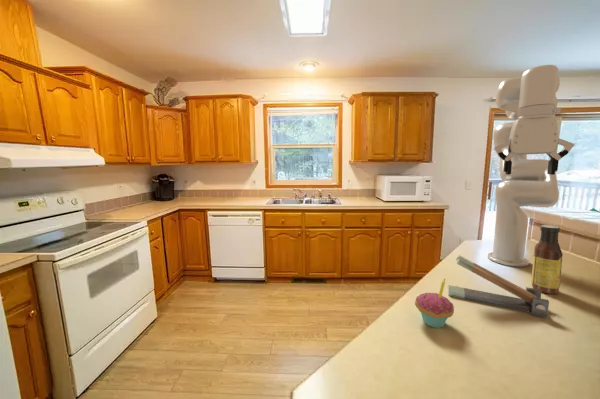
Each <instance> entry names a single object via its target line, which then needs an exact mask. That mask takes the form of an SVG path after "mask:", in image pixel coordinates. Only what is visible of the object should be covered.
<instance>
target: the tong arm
mask: <svg viewBox="0 0 600 399" xmlns="http://www.w3.org/2000/svg"><path fill="white" fill-rule="evenodd" d="M455 261H456V264H457V265H459V266H460V267H462V268H464V269H466V270H468V271H470V272H471V273H474V274H475V275H477V276H479V277H480V278H482V279H484V280H486V281H488V282H490V283H492V284H494V285H496V286H498V287H499V288H501V289H503V290H505V291H506V292H509V293H510V294H512V295H515V296H516V297H517V298H520V299H523V300H525V301H527V302H529V303H530V304H531V303H532V297H535V298H537V297H536V295H534V294H532V293H530V292H528V291H527V290H526V288H525V289H524V288H523V287H521V286H520V285H517V284H515V283H513V282H511V281H509V280H507V279H506V278H504V277H501V276H500V275H498V274H496V273H494V272H492V271H491V270H488V269H486V268H485V267H482V266H480V265H479V264H477V263H476V262H473V261H471V260H470V259H467V258H465V256H462V255H460V254H458V256H457V257H456V259H455Z"/></svg>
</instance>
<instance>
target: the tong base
mask: <svg viewBox="0 0 600 399" xmlns="http://www.w3.org/2000/svg"><path fill="white" fill-rule="evenodd" d="M447 288H448V293H447V294H448V297H455V298H458V299H463V300H468V301H473V302H479V303H483V304H488V305H493V306H498V307H501V308H502V307H503V308H506V309H507V308H508V309H512V310H517V311H522V312H526V313H530V315H531V316H534V317H540V318H544V319H548V313H549V305H550V301H549V300H548V299H546V298H545V299H544V298H542V293H543V292H542V291H541V290H539V289H534V288H533V287H528V286H526V287H525V290H527V291H528V292H530V293H532V294H534V295H536V297H537V298H535V297H532V303H531V304H530V303H529V302H527V301H525V300H523V299H521V298H519V297H513V296H509V295H505V294H498V293H492V292H488V291H487V292H486V291H483V290H482V291H481V290H476V289H471V288H466V287H461V286H454V285H450V284H449V285H448V287H447Z"/></svg>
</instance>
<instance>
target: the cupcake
mask: <svg viewBox="0 0 600 399" xmlns="http://www.w3.org/2000/svg"><path fill="white" fill-rule="evenodd" d="M445 285H446V278H444V279H443V280H442V281H441V284H440V287H439V288H440V289H439V292H438V293H437V292H425V293H420V294H419V295H418V296H416V298H415V301H414V306H415V307H416V308H417V310H418V311H419V312H420V314H421V318H422V321H423V322H424V324H426V325H427V326H430V327H432V328H438V329H439V328H443V327H444V325H445V324H446V322H447V320H448V318H451V317H453V316H454V313H455V311H454V310H455V307H454V304H453V302H451V301H450V299H449V298H447V297H446V296H444V295H443V292H444V289H445Z"/></svg>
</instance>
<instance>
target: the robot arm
mask: <svg viewBox="0 0 600 399" xmlns="http://www.w3.org/2000/svg"><path fill="white" fill-rule="evenodd" d="M558 75H559V68H558V67H557V65H553V64H544V65H538V66H534V67H531V68H529V69H527V70H525V71H524V72H523V73H522V75H521V76H518V77H517V76H516V77H512V78H511V77H509V78H507V79H504V80H503V81H501V82H500V84H499V85H498V88H497V91H496V94H495V103H496V104H495V105H496V107H497V108H498V109H499V110H503V111H505V112H504V113H505V115H506V116H507V118H509V119H512V120H513V121H511V122H505V123H501V124H498V125H497V126H496V127H495V129H494V130H493V134H492V135H493V137H492V138H493V145H494V146H493V150H494V152H495V153H496V154H497V156H498V157H499V173H500V174H499V175H500V179H501V181H500V182H499V183H497V185H496V187H495V200H496V201H495V202H496V204H495V205H496V210H495V211H496V214H495V226H494V236H493V237H494V238H493V246H492V247H493V249H492V252H489V253H488V254H487V258H488V259H489V260H490V261H491V262H494V263H497V264H501V265H504V266H508V267H509V266H510V267H517V268H519V267H527V266H529V265H530V260H529V259H527V258H526V257H525V253H526V244H527V234H528V226H529V217H528V215H527V214H526V212H524V210H523V209H521V207H533V208H551V207H553V206H555V205H557V203H558V201H559V197H560V196H559V195H560V192H559V185H558V184H559V183H558V176H557V172H558V170H559V161H560V160H561V159H562V158H564V157H565V156H566V155H568V154H569V152H570V151H571V150H572V149H573V147H574V146H575V144H574V143H573V142H572V141H568V140H565V139H563V138H560V137H559V131H558V130H559V128H558V119H557V116H556V114H558V113H561V111H562V107H558V98H557V96H556V94H557V92H558V90H559V89H560V81H561V79H560V77H559V76H558ZM558 145H559V146H562V147H563V148H562V150H561V151H559V152H557V149H558ZM543 154H545V155H547V157H549V159H550V160H549V159H543V158H540V159H536V158H535V159H529V158H528V156H527V155H543Z"/></svg>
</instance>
